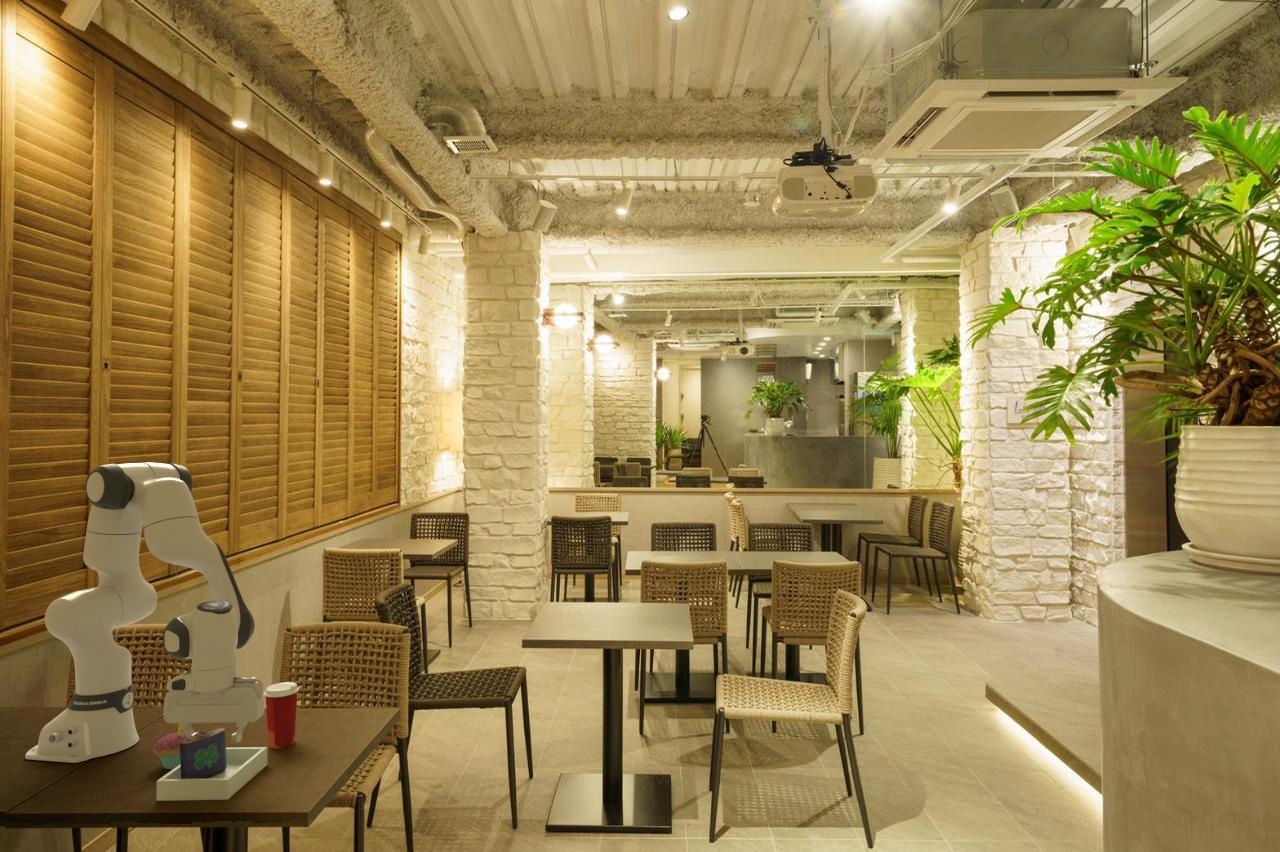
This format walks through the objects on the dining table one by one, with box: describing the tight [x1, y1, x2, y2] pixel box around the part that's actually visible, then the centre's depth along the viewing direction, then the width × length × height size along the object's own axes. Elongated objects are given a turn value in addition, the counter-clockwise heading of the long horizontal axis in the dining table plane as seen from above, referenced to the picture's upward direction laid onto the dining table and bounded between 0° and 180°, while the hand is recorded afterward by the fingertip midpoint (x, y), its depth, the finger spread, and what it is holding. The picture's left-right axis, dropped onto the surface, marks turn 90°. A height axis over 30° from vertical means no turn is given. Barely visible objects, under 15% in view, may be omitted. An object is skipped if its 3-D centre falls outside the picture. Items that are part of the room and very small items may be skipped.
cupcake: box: [152, 723, 187, 770], centre depth 171 cm, size 9×8×12 cm
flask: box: [180, 726, 227, 779], centre depth 162 cm, size 9×3×11 cm, turn 145°
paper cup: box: [263, 681, 300, 750], centre depth 182 cm, size 8×8×14 cm
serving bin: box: [156, 746, 268, 802], centre depth 162 cm, size 15×17×4 cm
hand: (214, 741), depth 162 cm, fingers open, 8 cm apart
